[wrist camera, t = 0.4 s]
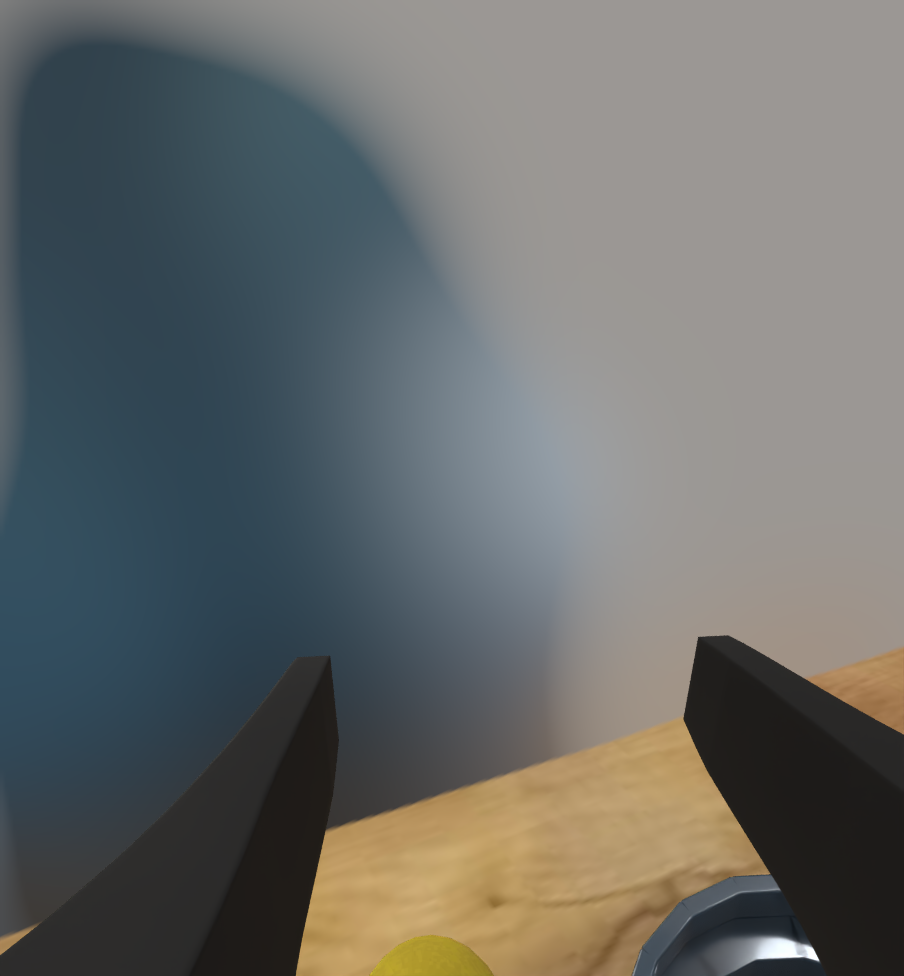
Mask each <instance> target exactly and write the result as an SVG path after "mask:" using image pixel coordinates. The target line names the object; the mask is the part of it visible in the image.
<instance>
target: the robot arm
mask: <svg viewBox="0 0 904 976" xmlns="http://www.w3.org/2000/svg"><path fill="white" fill-rule="evenodd" d="M334 700H335V699H334V689H333V680H332V671H331V660H330V656H316V657H298V658H296V659H295V660H294V661H293V662H292V663H291V665H290V666H289V668H288V669H287V670H286V672H285V673H284V674H283V676H282V677H281V678H280V680H279V681H278V682H277V684H276V685H275V686H274V688H273V689H272V690H271V692H270V693H269V694H268V695H267V697H266V698H265V699H264V700H263V702H262V703H261V704H260V706H259V707H258V708H257V709H256V711H255V712H254V713H253V714H252V716H251V717H250V718H249V719H248V720H247V722H246V723H245V724H244V725H243V727H242V728H241V729H240V730H239V731H238V733H237V734H236V735H235V736H234V737H233V739H232V740H231V741H230V742H229V743H228V745H227V746H226V747H225V748H224V749H223V751H222V752H221V753H220V754H219V755H218V756H217V757H216V758H215V759H214V760H213V761H212V763H211V764H210V765H209V766H208V767H207V768H206V769H205V770H204V771H203V773H202V774H201V775H200V776H199V777H198V778H197V779H196V780H195V781H194V782H193V784H192V785H191V786H190V787H189V788H188V789H187V790H186V791H185V792H184V793H183V794H182V795H181V796H180V797H179V798H178V799H177V800H176V802H175V803H174V804H173V805H172V806H171V807H170V808H169V809H168V810H167V811H166V812H165V813H164V814H163V815H162V816H161V817H160V818H159V819H158V820H157V821H156V822H155V823H154V824H152V825H151V826H150V827H149V828H148V829H147V830H146V831H145V832H144V833H143V834H142V835H141V836H140V837H139V838H138V839H137V840H136V841H135V842H134V843H133V844H132V845H131V846H130V847H128V848H127V849H126V850H125V851H124V852H123V853H122V854H121V855H120V856H119V857H118V858H116V859H115V860H114V861H113V862H112V863H111V864H109V865H108V866H107V867H106V868H105V869H104V870H103V871H102V872H101V873H99V874H98V875H97V876H96V877H95V878H94V879H92V880H91V881H90V882H89V883H88V884H87V885H85V886H84V887H83V888H82V889H81V890H80V891H78V892H77V893H76V894H75V895H74V896H73V897H71V898H70V899H69V900H68V901H67V902H66V903H65V904H63V905H62V906H61V907H60V908H59V909H57V910H56V911H55V912H54V913H53V914H52V915H50V916H49V917H48V918H47V919H45V920H44V921H43V922H42V923H40V924H39V925H38V926H37V927H35V928H34V929H33V930H32V931H30V932H29V933H28V934H27V935H25V936H24V937H23V938H22V939H20V940H19V941H18V942H17V943H15V944H14V945H13V946H11V947H10V948H9V949H8V950H6V951H5V952H4V953H3V954H1V955H0V976H296V970H297V964H298V959H299V953H300V948H301V942H302V937H303V932H304V927H305V922H306V918H307V913H308V909H309V904H310V899H311V895H312V890H313V886H314V881H315V877H316V872H317V867H318V863H319V858H320V854H321V849H322V844H323V840H324V835H325V830H326V825H327V821H328V816H329V812H330V806H331V802H332V797H333V789H334V780H335V772H336V763H337V752H338V742H339V739H338V728H337V720H336V719H337V718H336V709H335V701H334ZM684 722H685V724H686V726H687V728H688V731H689V733H690V735H691V737H692V740H693V742H694V744H695V746H696V749H697V751H698V753H699V755H700V757H701V759H702V761H703V763H704V765H705V767H706V769H707V771H708V773H709V775H710V776H711V778H712V780H713V781H714V783H715V785H716V786H717V788H718V790H719V791H720V793H721V794H722V796H723V798H724V799H725V801H726V803H727V804H728V806H729V808H730V809H731V811H732V813H733V814H734V816H735V817H736V819H737V821H738V822H739V824H740V825H741V827H742V829H743V830H744V832H745V833H746V835H747V837H748V838H749V840H750V842H751V843H752V845H753V846H754V848H755V850H756V851H757V853H758V854H759V856H760V858H761V859H762V861H763V862H764V864H765V866H766V867H767V869H768V871H769V872H770V874H771V875H772V877H773V879H774V880H775V882H776V883H777V885H778V887H779V888H780V890H781V891H782V893H783V895H784V896H785V898H786V900H787V902H788V903H789V905H790V907H791V909H792V910H793V912H794V914H795V916H796V917H797V919H798V921H799V923H800V924H801V926H802V928H803V930H804V932H805V934H806V936H807V938H808V940H809V942H810V944H811V946H812V947H813V949H814V951H815V953H816V955H817V957H818V959H819V961H820V963H821V965H822V967H823V969H824V971H825V973H826V975H827V976H904V735H903V734H902V733H900V732H898V731H896V730H894V729H892V728H890V727H888V726H887V725H885V724H883V723H881V722H879V721H877V720H875V719H874V718H872V717H870V716H868V715H866V714H865V713H863V712H861V711H859V710H858V709H856V708H854V707H852V706H850V705H849V704H847V703H845V702H843V701H842V700H840V699H838V698H837V697H835V696H833V695H831V694H830V693H828V692H826V691H824V690H823V689H821V688H819V687H818V686H816V685H814V684H813V683H811V682H809V681H807V680H806V679H804V678H802V677H801V676H799V675H797V674H796V673H794V672H792V671H791V670H789V669H787V668H785V667H784V666H782V665H780V664H779V663H777V662H775V661H774V660H772V659H770V658H768V657H767V656H765V655H763V654H761V653H760V652H758V651H756V650H755V649H753V648H751V647H749V646H747V645H746V644H744V643H742V642H740V641H738V640H736V639H734V638H732V637H730V636H707V637H698V641H697V647H696V652H695V658H694V664H693V669H692V674H691V681H690V686H689V691H688V697H687V702H686V708H685V713H684Z"/></svg>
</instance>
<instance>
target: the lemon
mask: <svg viewBox="0 0 904 976" xmlns="http://www.w3.org/2000/svg"><path fill="white" fill-rule="evenodd" d="M369 976H494V975H493V973H492V972H491V970H490V969H489V967H488V966H487V965H486V964H485V963H484V962H483V961H482V960H481V959H480V958H479V957H478V956H477V955H476V954H475V953H474V952H473V951H472V950H471V949H470V948H468V947H467V946H465V945H463V944H461V943H459V942H457V941H455V940H453V939H451V938H447V937H442V936H436V935H428V936H421V937H415V938H413V939H410V940H408V941H406V942H404V943H402V944H399V945H398V946H397V947H395V948H394V949H393V950H392V951H391V952H389V953H388V954H387V955H386V956H384V957H383V958H382V960H381V961H380V962H379V964H378V965H377V966H376V967H375V969H374V970H373V971H372V973H371V974H370V975H369Z"/></svg>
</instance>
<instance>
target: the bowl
mask: <svg viewBox="0 0 904 976" xmlns="http://www.w3.org/2000/svg"><path fill="white" fill-rule="evenodd" d="M632 976H827V975H826V973H825V971H824V969H823V967H822V965H821V963H820V961H819V959H818V957H817V955H816V953H815V951H814V949H813V947H812V946H811V944H810V942H809V940H808V938H807V936H806V934H805V932H804V930H803V928H802V926H801V924H800V923H799V921H798V919H797V917H796V916H795V914H794V912H793V910H792V909H791V907H790V905H789V903H788V902H787V900H786V898H785V896H784V895H783V893H782V891H781V890H780V888H779V887H778V885H777V883H776V882H775V880H774V879H773V877H772V875H771V874H769V875H751V876H733V877H729V878H727V879H725V880H723V881H721V882H719V883H717V884H715V885H712V886H710V887H708V888H706V889H704V890H702V891H700V892H698V893H696V894H694V895H692V896H690V897H688V898H685V899H683V900H682V901H681V902H679V903H678V904H677V906H676V907H675V908H674V909H673V910H672V911H671V913H670V914H669V915H668V916H667V917H666V919H665V920H664V921H663V922H662V923H661V925H660V926H659V927H658V928H657V929H656V931H655V932H654V933H653V934H652V935H651V937H650V938H649V939H648V940H647V941H646V943H645V944H644V945H643V946H642V949H641V950H640V952H639V955H638V958H637V961H636V964H635V967H634V970H633V973H632Z"/></svg>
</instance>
